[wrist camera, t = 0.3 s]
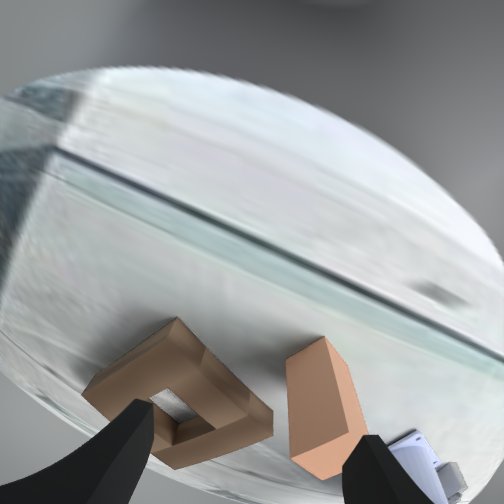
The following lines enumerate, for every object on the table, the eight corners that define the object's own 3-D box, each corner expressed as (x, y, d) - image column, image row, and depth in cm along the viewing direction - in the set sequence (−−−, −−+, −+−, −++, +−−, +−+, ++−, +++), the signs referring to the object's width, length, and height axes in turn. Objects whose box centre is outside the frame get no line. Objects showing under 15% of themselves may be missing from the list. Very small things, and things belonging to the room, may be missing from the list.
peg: (347, 364, 19) (375, 457, 12) (310, 386, 20) (322, 480, 12) (324, 336, 19) (349, 432, 11) (285, 359, 19) (290, 458, 12)
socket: (273, 411, 21) (273, 435, 18) (180, 449, 23) (174, 470, 21) (177, 317, 19) (166, 338, 16) (94, 375, 21) (80, 394, 19)
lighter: (449, 462, 23) (471, 512, 16) (457, 462, 24) (478, 510, 16) (408, 494, 25) (422, 542, 18) (416, 494, 26) (430, 540, 18)
